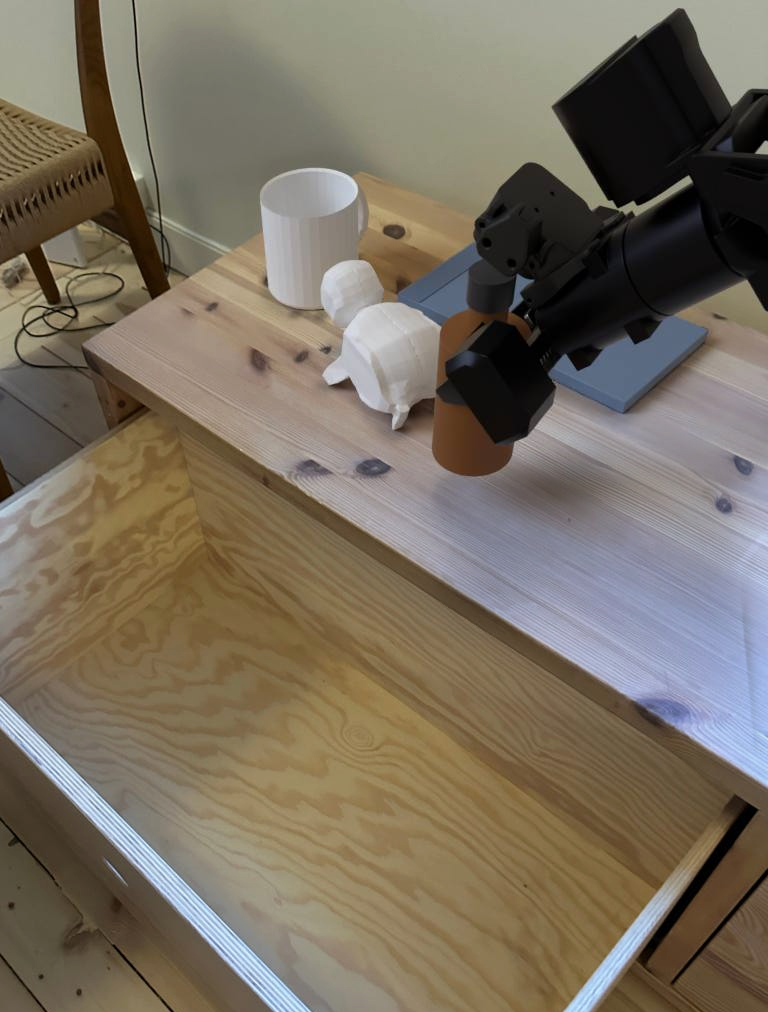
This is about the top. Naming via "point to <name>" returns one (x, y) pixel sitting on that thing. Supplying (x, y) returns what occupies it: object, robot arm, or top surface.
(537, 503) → the top surface
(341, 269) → the white turtle figurine
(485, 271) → the brown bottle
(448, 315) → the blue slab
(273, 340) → the top surface
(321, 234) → the mug
